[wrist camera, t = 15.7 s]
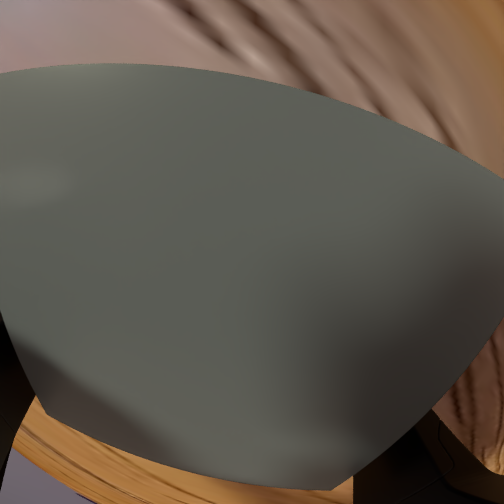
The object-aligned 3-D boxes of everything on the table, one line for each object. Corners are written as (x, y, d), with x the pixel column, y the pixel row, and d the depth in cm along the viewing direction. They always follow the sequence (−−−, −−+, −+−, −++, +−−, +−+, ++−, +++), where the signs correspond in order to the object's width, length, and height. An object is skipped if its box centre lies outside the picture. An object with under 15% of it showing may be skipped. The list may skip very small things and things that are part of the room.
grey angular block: (318, 327, 12) (330, 490, 6) (137, 281, 12) (46, 414, 5) (391, 141, 8) (553, 216, 2) (159, 84, 8) (-21, 78, 2)
